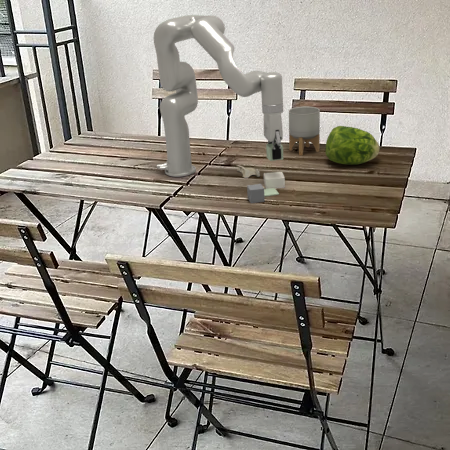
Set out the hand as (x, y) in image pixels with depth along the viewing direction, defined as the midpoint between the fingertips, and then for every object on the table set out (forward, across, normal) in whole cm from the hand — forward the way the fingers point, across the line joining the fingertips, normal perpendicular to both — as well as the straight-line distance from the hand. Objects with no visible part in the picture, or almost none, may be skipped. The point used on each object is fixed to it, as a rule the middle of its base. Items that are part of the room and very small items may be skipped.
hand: (274, 156), depth 231 cm
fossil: (+12, -16, -7) cm, 21 cm away
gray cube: (+11, +12, -11) cm, 19 cm away
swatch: (+11, +6, -5) cm, 14 cm away
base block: (+12, 0, -1) cm, 12 cm away
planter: (+11, -36, +22) cm, 43 cm away
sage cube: (+1, 0, 0) cm, 1 cm away
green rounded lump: (+12, -14, +36) cm, 40 cm away
